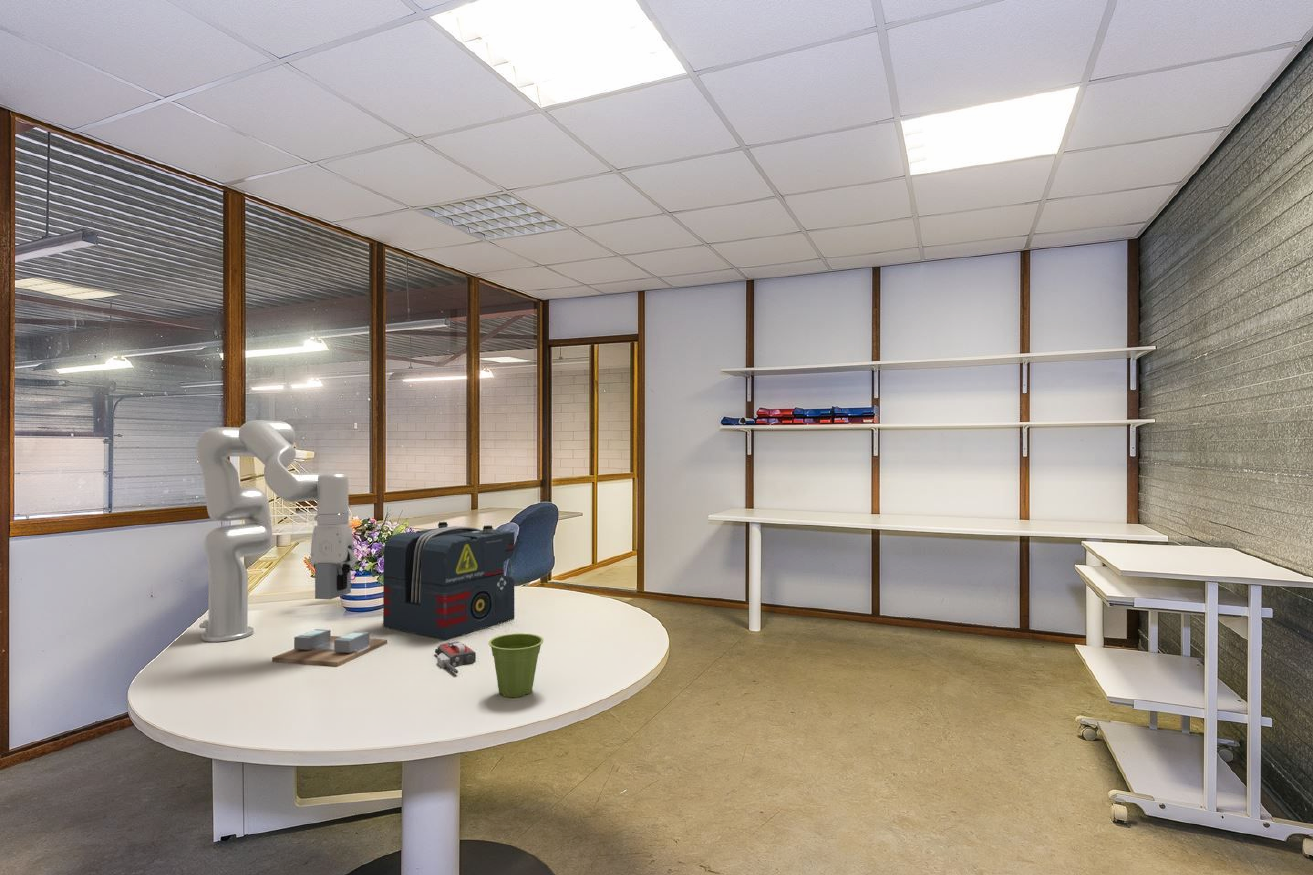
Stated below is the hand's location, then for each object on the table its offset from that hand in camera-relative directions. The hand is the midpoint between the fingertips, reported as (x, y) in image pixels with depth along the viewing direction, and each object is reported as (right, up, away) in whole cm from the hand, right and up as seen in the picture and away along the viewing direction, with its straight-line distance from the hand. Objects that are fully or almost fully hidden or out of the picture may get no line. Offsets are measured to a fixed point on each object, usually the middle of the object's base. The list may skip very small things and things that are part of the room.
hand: (333, 588), depth 175 cm
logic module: (0, -2, 0) cm, 2 cm away
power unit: (+22, -17, +29) cm, 40 cm away
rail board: (0, -17, 0) cm, 17 cm away
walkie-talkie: (+35, -17, -9) cm, 40 cm away
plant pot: (+55, -16, -30) cm, 64 cm away
